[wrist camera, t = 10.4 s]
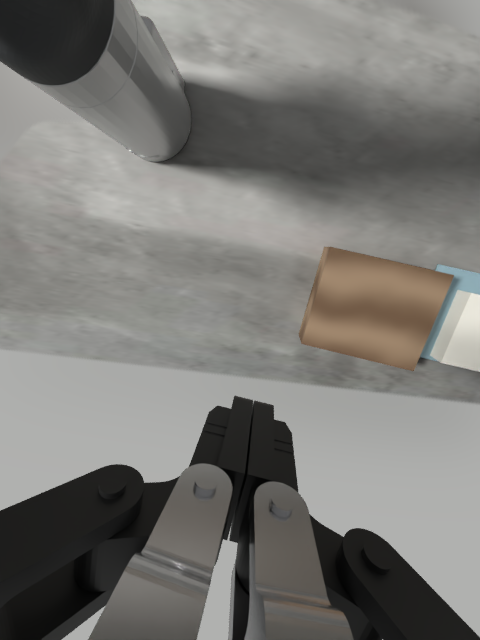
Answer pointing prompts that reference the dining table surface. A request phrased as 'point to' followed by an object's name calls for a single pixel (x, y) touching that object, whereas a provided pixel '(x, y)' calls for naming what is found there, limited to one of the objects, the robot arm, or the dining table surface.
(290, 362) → the dining table surface
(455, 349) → the white bevelled block
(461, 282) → the mat
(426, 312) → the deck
